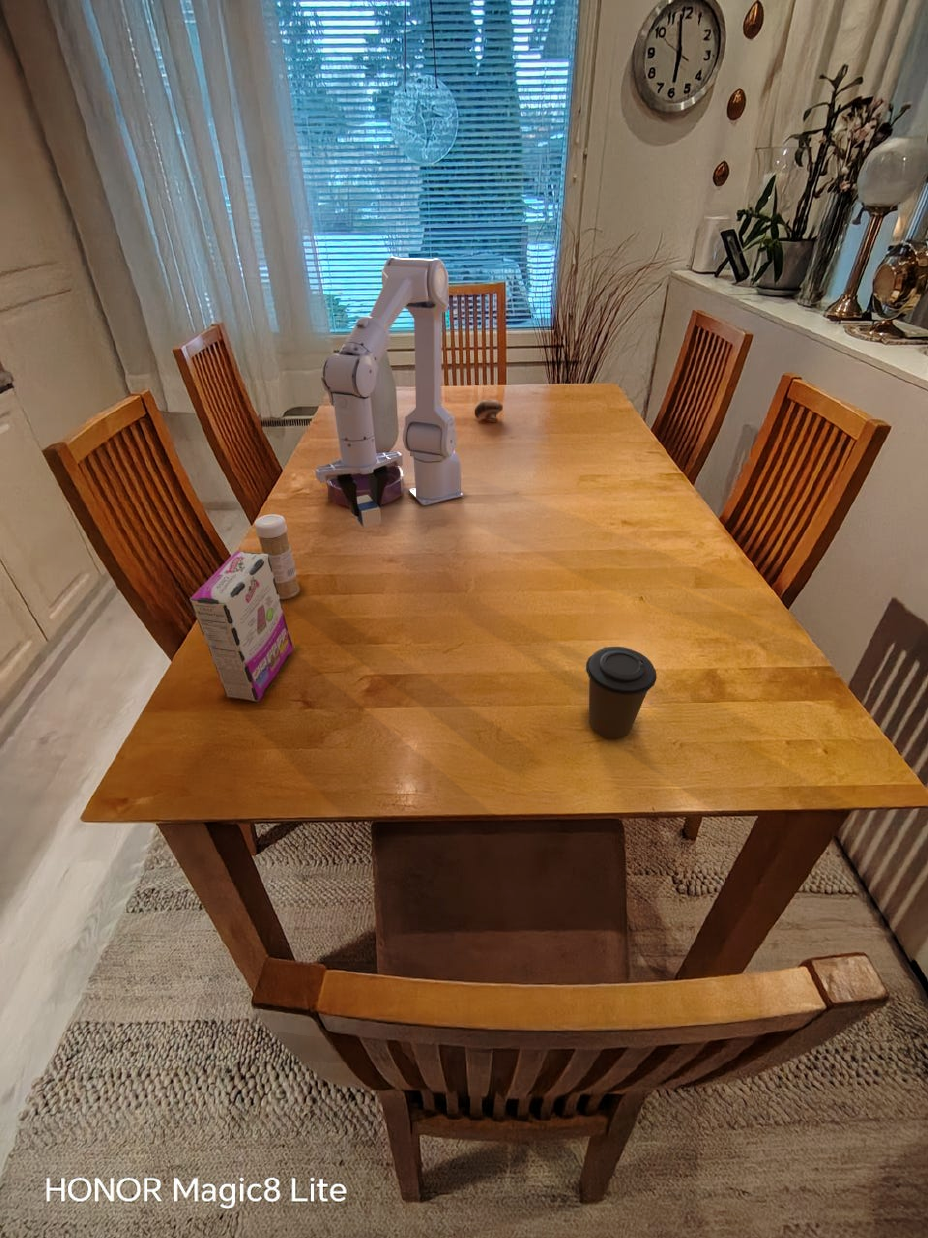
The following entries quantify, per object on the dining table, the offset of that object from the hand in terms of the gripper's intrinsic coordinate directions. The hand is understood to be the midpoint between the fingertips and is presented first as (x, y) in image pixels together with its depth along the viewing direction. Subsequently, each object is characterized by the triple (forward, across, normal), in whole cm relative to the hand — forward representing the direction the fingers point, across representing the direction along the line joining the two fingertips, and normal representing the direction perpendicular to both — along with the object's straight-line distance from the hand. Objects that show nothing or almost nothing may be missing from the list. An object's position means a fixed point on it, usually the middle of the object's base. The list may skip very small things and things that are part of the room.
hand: (365, 511), depth 102 cm
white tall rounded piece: (+9, +19, +45) cm, 50 cm away
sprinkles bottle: (+8, -17, -6) cm, 20 cm away
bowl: (+8, +8, +24) cm, 27 cm away
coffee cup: (+8, +12, -54) cm, 56 cm away
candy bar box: (+8, -25, -24) cm, 35 cm away
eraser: (+1, 0, 0) cm, 1 cm away
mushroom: (+9, +54, +52) cm, 76 cm away
